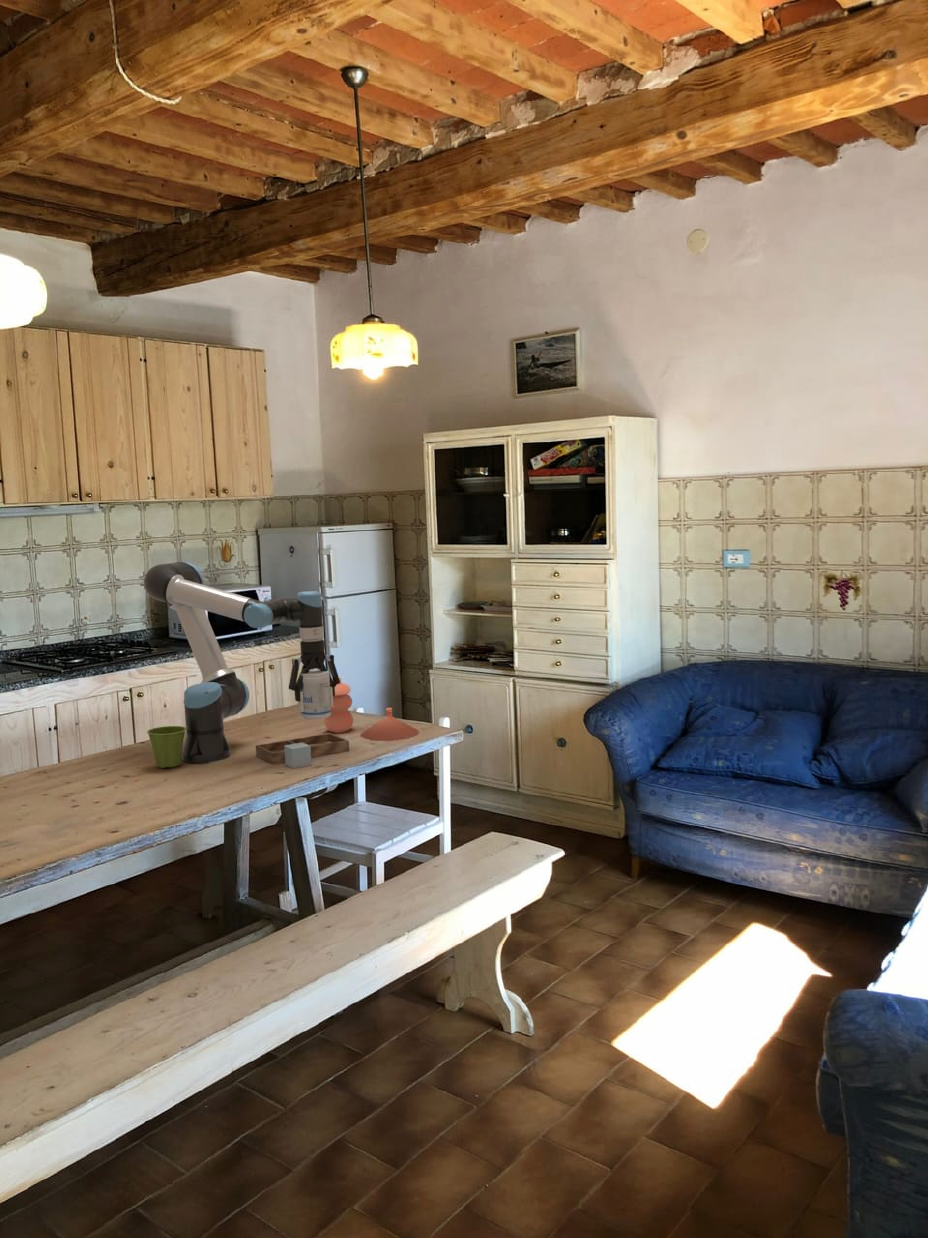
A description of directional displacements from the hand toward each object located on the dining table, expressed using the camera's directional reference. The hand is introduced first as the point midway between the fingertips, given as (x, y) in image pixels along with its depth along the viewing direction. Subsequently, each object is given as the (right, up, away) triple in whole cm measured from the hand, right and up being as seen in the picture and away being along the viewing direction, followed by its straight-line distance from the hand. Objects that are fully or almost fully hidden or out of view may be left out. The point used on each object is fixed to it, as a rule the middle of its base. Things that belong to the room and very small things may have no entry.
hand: (315, 708), depth 322 cm
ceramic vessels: (+16, -11, +24) cm, 31 cm away
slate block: (-3, -16, -15) cm, 22 cm away
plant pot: (-44, -17, -11) cm, 48 cm away
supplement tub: (0, -3, 0) cm, 3 cm away
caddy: (-4, -14, -1) cm, 15 cm away
